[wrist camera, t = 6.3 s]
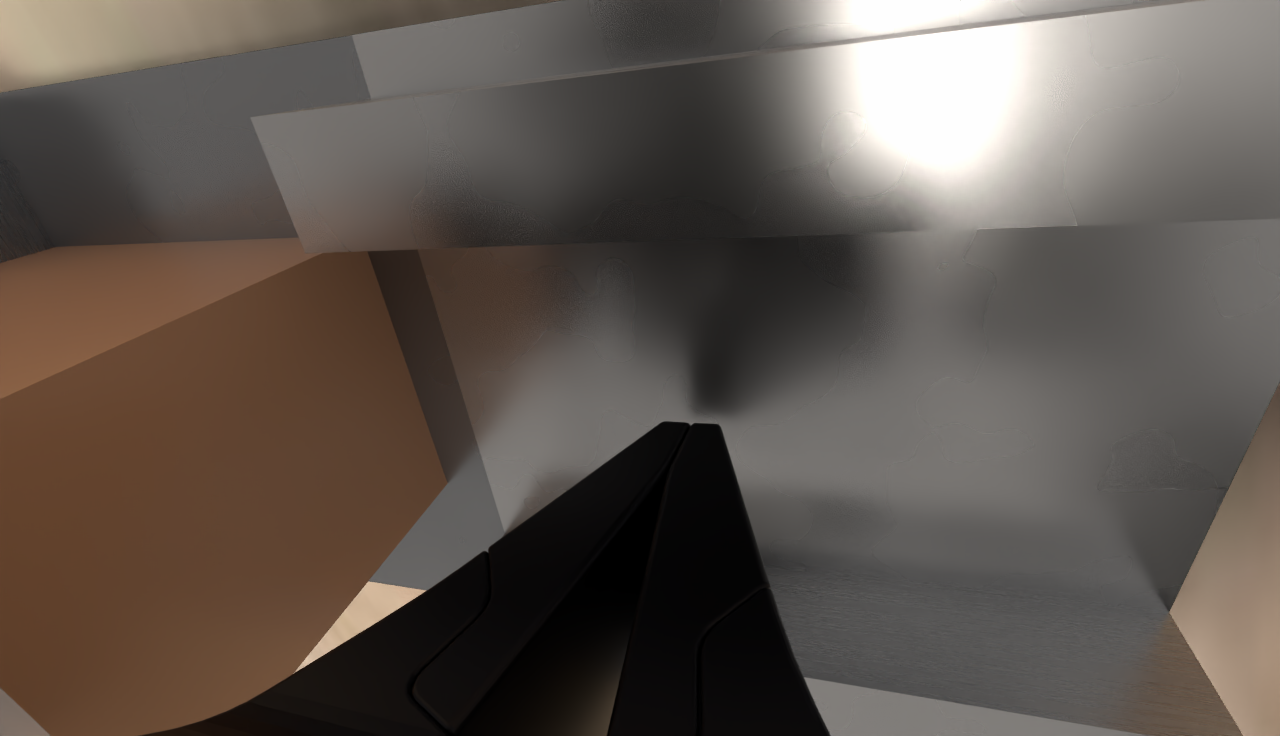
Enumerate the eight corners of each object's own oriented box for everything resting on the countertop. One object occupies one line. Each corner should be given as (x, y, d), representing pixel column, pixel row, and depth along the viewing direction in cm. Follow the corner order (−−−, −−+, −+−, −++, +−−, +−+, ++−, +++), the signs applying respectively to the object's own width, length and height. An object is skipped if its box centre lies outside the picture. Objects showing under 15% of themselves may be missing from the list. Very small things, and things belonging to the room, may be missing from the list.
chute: (1425, -131, 5) (1986, -276, 3) (1100, 649, 10) (1189, 843, 8) (-8, 99, 11) (-256, 120, 8) (249, 532, 16) (145, 624, 14)
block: (361, 234, 9) (-205, 491, 4) (447, 483, 11) (159, 838, 6) (56, 246, 11) (-584, 430, 6) (184, 457, 13) (-195, 713, 8)
